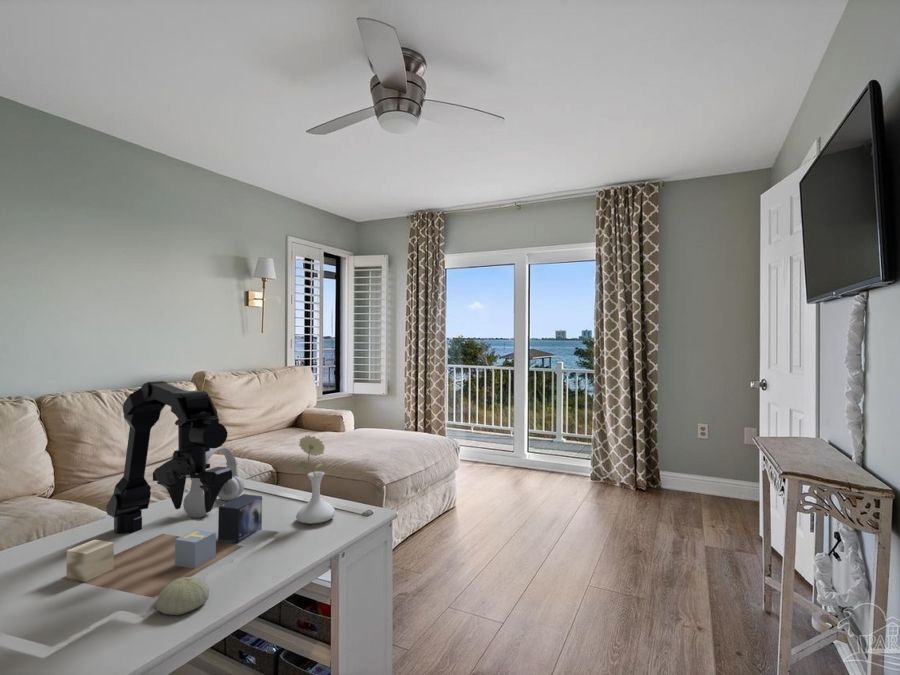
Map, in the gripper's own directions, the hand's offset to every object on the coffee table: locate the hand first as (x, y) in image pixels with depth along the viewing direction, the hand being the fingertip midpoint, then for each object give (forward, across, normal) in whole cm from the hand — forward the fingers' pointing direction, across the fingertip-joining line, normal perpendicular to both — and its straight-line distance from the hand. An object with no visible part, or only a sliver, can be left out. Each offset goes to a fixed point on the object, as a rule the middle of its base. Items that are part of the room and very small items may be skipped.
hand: (192, 510), depth 109 cm
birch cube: (+12, -18, -11) cm, 24 cm away
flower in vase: (+13, +10, +34) cm, 38 cm away
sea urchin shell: (+14, +11, -13) cm, 22 cm away
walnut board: (+13, -8, -2) cm, 15 cm away
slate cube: (+6, +1, 0) cm, 6 cm away
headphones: (+13, -27, +34) cm, 45 cm away
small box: (+13, -1, +16) cm, 21 cm away
